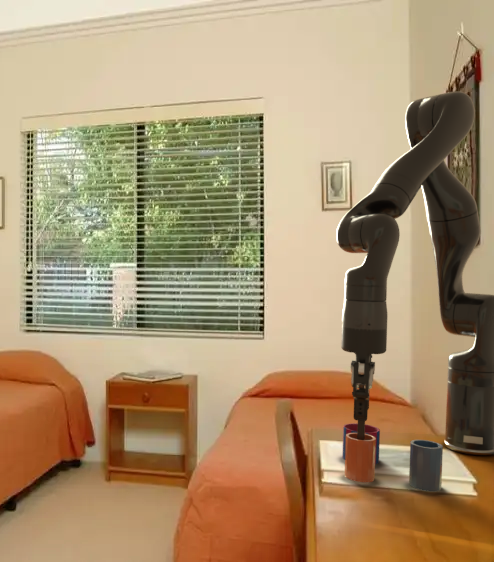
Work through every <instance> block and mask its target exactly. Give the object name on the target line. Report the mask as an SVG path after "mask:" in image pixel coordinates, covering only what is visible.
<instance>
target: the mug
mask: <svg viewBox="0 0 494 562" xmlns="http://www.w3.org/2000/svg"><path fill="white" fill-rule="evenodd" d="M357 428H358V422H357V423H355V422H354V423H351V422H350V423H345V424H344V425H343V428H342V429H343V430H342V459H343V460H344V461H345V446H346V434H348V433H357ZM365 434H368V435H371V436H374V437H375V438H376V448H375V465H377V464H379V463H380V438H381V430H380V428H379V427H377V426H374V425H371V424H366V423H365Z"/></svg>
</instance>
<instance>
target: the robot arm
mask: <svg viewBox="0 0 494 562" xmlns="http://www.w3.org/2000/svg"><path fill="white" fill-rule="evenodd" d="M475 117H476V109H475V104H474V102H473V99H472V98H471V96H470V95H468V93H466V92H464V91H449V92H445V93H440V94H435V95H431V96H427V97H426V96H425V97H422V98H418V99H415V100H413V101H411V102H410V103H409V105H408V106H407V107H406V111H405V116H404V123H405V131H406V136H407V140H408V144H409V147H410V149H409V150H408V151H406V152H405V153H403V154H402V155H401V156H400V157H397V159H396V160H395V161H393V162H392V163H391V164H390V165H389V166H387V168H386V169H385V170H384V171H383V173H381V175H380V177H379V178H378V180H377V181H376V183H374V186H373V188H372V189H371V191H369V193H368V194H367V195H365V196H364V197H363V198H362V199H360V200H359V201H358V202H357V203H356V204H355V205H353V207H351V209H349V210H348V211H347V212H346V213H345V214H344V216H343V217H342V218H341V219H340V221H339V223H338V225H337V228H336V232H335V233H336V234H335V238H336V239H335V240H336V242H337V245H338V246H339V248H340V249H341V250H342V251H344V252H346V253H350V254H366V255H365V258H364V261H363V262H362V264H360V265H357V266H353V267H350V268H348V269H347V270H346V272H345V275H344V289H343V290H344V291H343V294H344V295H343V305H342V310H341V311H342V313H341V342H340V347H341V350H342V351H344V352H346V353H353V354H354V355H355V359H351V362H350V372H351V378H350V384H351V387H352V392H351V395H352V397H353V398H352V399H353V420H355V421H357V422H358V421H365V422H367V421H368V411H369V409H370V397H371V395H370V390H371V389H372V388H373V382H374V374H375V371H376V361H372V359H373V355H382V354H383V355H384V354H385V353H386V352H387V342H388V340H387V339H388V306H387V296H388V293H387V291H388V278H389V273H390V271H391V268H392V264H393V260H394V258H395V255H396V252H397V249H398V246H399V242H400V226H399V224H398V222H397V220H396V219H398V218H401V216H403V215H404V214H405V213H406V211H407V210H408V208H409V206H411V203H412V202H413V200H414V199H415V197H416V195H418V192H419V191H420V189H421V192H422V198H423V204H424V209H425V218H426V223H427V229H428V234H429V238H430V242H431V247H432V253H433V258H434V265H435V270H436V280H437V292H438V305H439V313H440V320H441V324H442V326H443V328H444V330H445V331H446V332H447V333H448V334H451V335H455V336H462V337H470V338H474V342H473V345H472V346H471V347H469V348H468V349H465V350H461V351H455V352H452V353H449V355H448V358H447V379H446V380H447V381H446V382H447V384H446V407H445V408H446V411H445V432H444V433H445V434H444V435H445V436H444V446H445V447H446V448H447V449H449V450H452V451H454V452H458V453H462V454H466V455H471V456H472V455H473V456H492V455H494V294H488V293H470V292H465V290H464V284H463V274H464V270H465V267H466V264H467V263H468V261H469V259H470V257H471V255H472V254H473V252H474V250H475V248H476V246H477V244H478V243H479V241H480V237H481V232H482V231H481V222H480V217H479V209H478V205H477V202H476V199H475V196H473V194H472V193H471V192H470V191H469V189H468V188H467V187H466V186H465V184H463V183H462V182H461V181H460V179H458V178H457V176H456V175H455V174H454V173H453V172H452V171H451V169H450V168H449V167H448V165H447V164H446V162H445V159H446V158H447V157H448V156H449V155H450V154H451V153H452V152H453V150H454V149H456V147H458V145H459V144H461V142H462V141H463V140H464V139H465V138H466V137H467V135H468V134H469V133H470V131H471V129H472V128H473V125H474V123H475V122H474V121H475V119H476V118H475Z"/></svg>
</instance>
